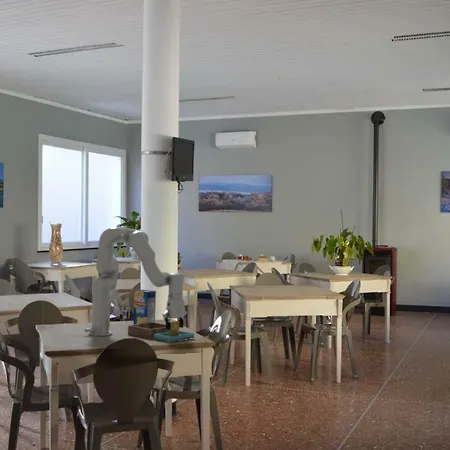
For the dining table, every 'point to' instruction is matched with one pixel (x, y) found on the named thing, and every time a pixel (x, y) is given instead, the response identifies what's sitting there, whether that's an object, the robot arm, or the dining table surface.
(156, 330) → the brown wooden tray
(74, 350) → the dining table surface
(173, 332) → the mustard cylinder
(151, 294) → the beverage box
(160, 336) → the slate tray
